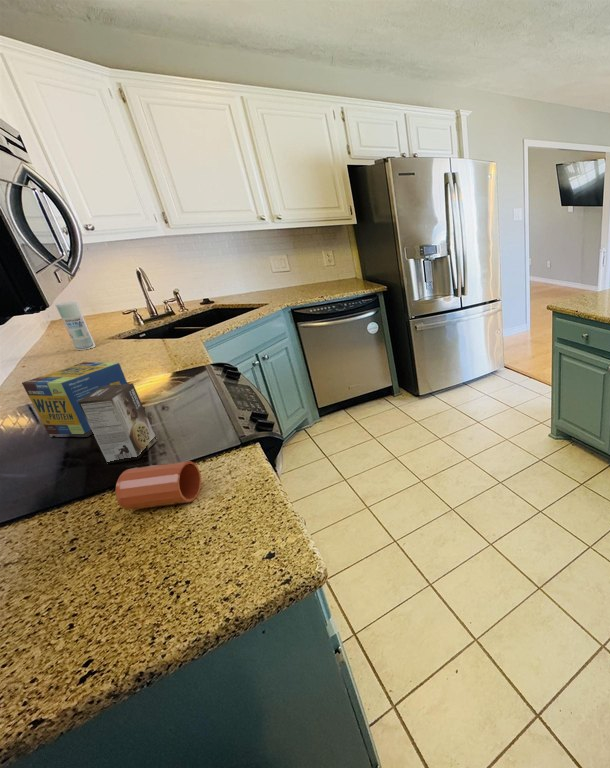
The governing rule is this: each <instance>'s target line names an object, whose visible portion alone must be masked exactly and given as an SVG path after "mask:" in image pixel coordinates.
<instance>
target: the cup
mask: <svg viewBox="0 0 610 768" xmlns="http://www.w3.org/2000/svg"><path fill="white" fill-rule="evenodd" d="M201 486H202V474H201V471H200V468H199V466H198V465H197V464H196V463H195V462H194V461H191V460H186V461H185V460H184V461H179V462H169V463H162V464H154V465H146V466H138V467H133V468H132V467H131V468H128V469H125V470H124V471H122V472H121V474H120V475H119V477H118V479H117V481H116V484H115V498H116V501H117V503H118V505H119V506H120V507H121V508H122V509H124V510H125V511H126V510H127V511H137V510H144V509H150V508H158V507H164V506H165V507H166V506H172V505H178V504H185V503H191V502H193V501H195V500H196V499H197V498H198V496H199V494H200V491H201V489H202V487H201Z"/></svg>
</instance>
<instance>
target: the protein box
mask: <svg viewBox="0 0 610 768" xmlns="http://www.w3.org/2000/svg"><path fill="white" fill-rule="evenodd" d="M21 384H22V387H23V388H24V391H25V392H26V394H27V396H28V398H29V400H30V401H31V403H32V405H33V407H34V409H35V411H36V414H37V416H38V417H39V419H40V422H41V423H42V425H43V427H44V428H45V430H46V433H47V434H48V435H49V434H84V433H86V432H88V431H90V430H91V428H90V426H89V424H88V422H87V420H86V418H85V416H84V413H83V411H82V409H81V407H80V405H79V403H78V401H80V400H81V399H83V398H84V397H86V396H87V395H89V394H91V393H92V392H94V391H95V390H97V389H98V388H100V387H101V386H108V385H119V384H122V385H123V384H128V381H127V379H126V376H125V373H124V372H123V369H122V366H121V365H120V362H101V361H100V362H98V361H97V362H96V361H95V362H93V361H92V362H91V361H83V362H79V363H77V364H74V365H72V366H68V367H65V368H63V369H60V370H57V371H53V372H50V373H47V374H44V375H42V376H38V377H35V378H32V379H28V380H25V381H22V382H21Z"/></svg>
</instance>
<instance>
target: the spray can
mask: <svg viewBox="0 0 610 768" xmlns="http://www.w3.org/2000/svg"><path fill="white" fill-rule="evenodd" d="M55 307H56V310H57V312H58V314H59V317H60V318H61V320H62V322H63V325H64V327H65V328H66V331H67V333H68V335H69V338H70V339H71V342H72V343H73V346H74V348H75V350H76V351H77V350H83V351H87V350H86V349H89V350H91V349H90V348H93V347H95V346H96V343H95V341H94V338H93V336H92V334H91V331H90V329H89V327H88V325H87V322H86V320H85V317H84V315H83V313H82V311H81V308H80V306H79V303H78V301H65V302H59V303H55ZM93 349H94V348H93Z"/></svg>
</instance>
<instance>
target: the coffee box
mask: <svg viewBox="0 0 610 768" xmlns="http://www.w3.org/2000/svg"><path fill="white" fill-rule="evenodd" d="M78 403H79V405H80V407H81V409H82V411H83V413H84V416H85V418H86V420H87V422H88V424H89V426H90V428H91V430H92V432H93V434H94V435H93V436H94V438H95V441H96V443H97V445H98V446H99V449H100V451H101V453H102V455H103V458H104V459H105V461H106V463H107V462H110V461H114V460H119V459H124V458H131V457H137V456H139V455H140V454H141V452H142V451H143V450H144V449H145V448H146V446H147V445H148V444H149V442H150V441H151V440H152V439H153V438H154V437H155V436H156V434H155V432H154V430H153V427H152V424H151V423H150V420H149V418H148V415H147V413H146V410H145V408H144V405H143V403H142V401H141V398H140V396H139V394H138V391H137V390H136V388H135V385H134V383H133V382H132V383H127V384H123V385H122V384H119V385H108V386H101V387H100V388H98V389H97V390H95V391H94V392H92V393H91V394H89V395H87V396H86V397H84V398H83V399H81V400H80V401H78Z"/></svg>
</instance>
